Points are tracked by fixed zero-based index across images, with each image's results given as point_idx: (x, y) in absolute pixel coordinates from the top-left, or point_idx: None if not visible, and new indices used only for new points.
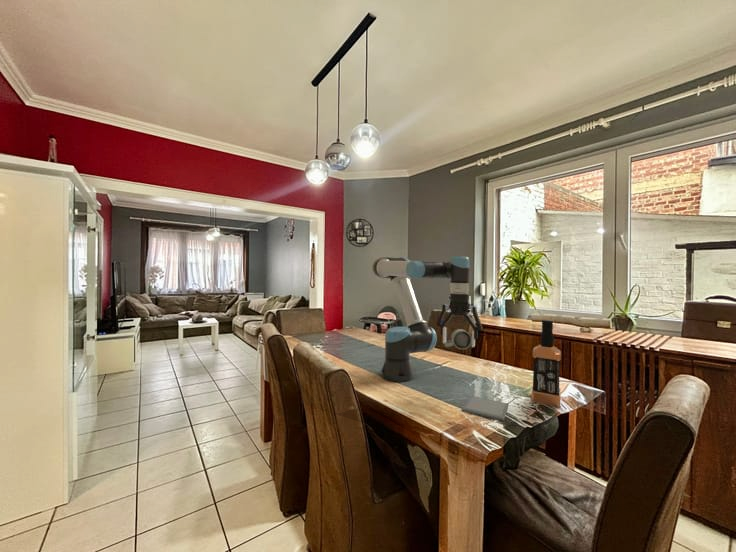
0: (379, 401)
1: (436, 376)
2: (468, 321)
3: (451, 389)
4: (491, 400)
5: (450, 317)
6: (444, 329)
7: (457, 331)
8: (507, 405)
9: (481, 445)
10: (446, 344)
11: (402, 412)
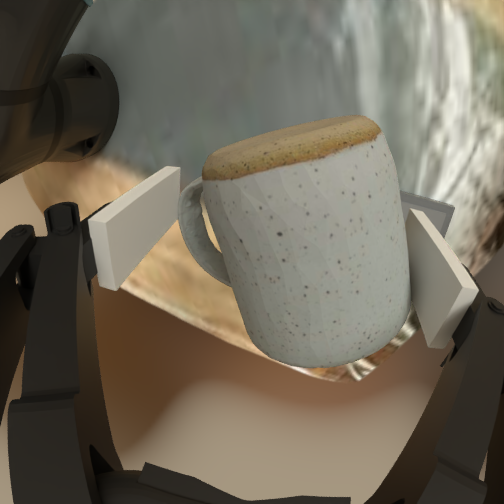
0: (127, 290)
1: (190, 19)
2: (413, 441)
3: (274, 127)
4: (412, 199)
5: (103, 412)
6: (121, 282)
7: (273, 341)
8: (448, 222)
9: (352, 377)
10: (206, 267)
11: (192, 323)
